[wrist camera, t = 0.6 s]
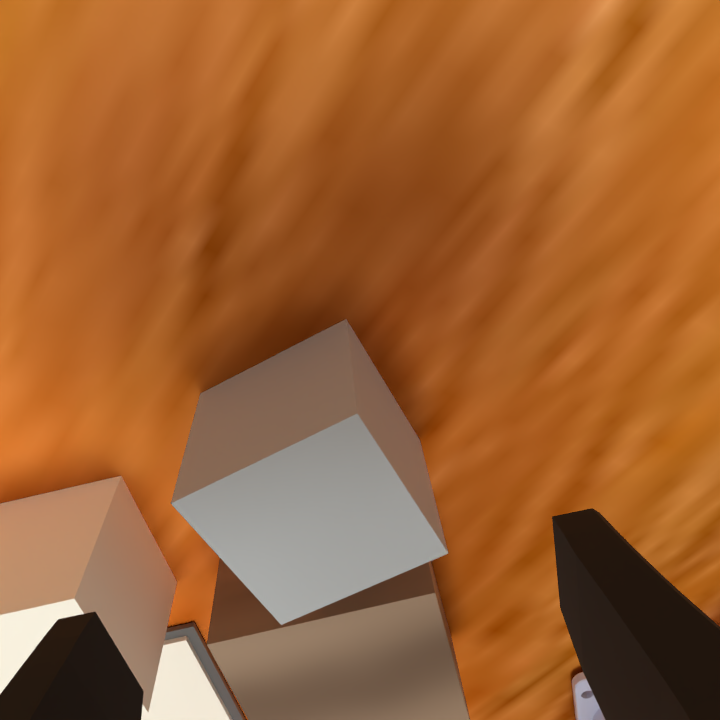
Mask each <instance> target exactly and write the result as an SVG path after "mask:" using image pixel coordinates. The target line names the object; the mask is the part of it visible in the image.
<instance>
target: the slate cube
mask: <svg viewBox="0 0 720 720" xmlns="http://www.w3.org/2000/svg"><path fill="white" fill-rule="evenodd" d="M171 504H172V505H173V506H174V507H175V509H176V510H177V511H178V512H179V513H180V514H181V515H182V516H183V517H184V518H185V520H186V521H187V522H188V523H189V524H190V525H191V526H192V527H193V528H194V529H195V531H196V532H197V533H198V534H199V535H200V536H201V537H202V538H203V539H204V540H205V542H206V543H207V544H208V545H209V546H210V547H211V548H212V549H213V550H214V552H215V553H216V554H217V555H218V556H219V557H220V558H221V559H222V560H223V561H224V563H225V564H226V565H227V566H228V567H229V568H230V569H231V570H232V571H233V572H234V574H235V575H236V576H237V577H238V578H239V579H240V580H241V581H242V582H243V583H244V585H245V586H246V587H247V588H248V589H249V590H250V591H251V592H252V593H253V594H254V596H255V597H256V598H257V599H258V600H259V601H260V602H261V603H262V604H263V605H264V607H265V608H266V609H267V610H268V611H269V612H270V613H271V614H272V615H273V616H274V618H275V619H276V620H277V621H278V622H279V623H280V624H281V625H282V624H285V623H287V622H289V621H292V620H294V619H296V618H299V617H301V616H303V615H306V614H308V613H310V612H313V611H315V610H317V609H320V608H322V607H324V606H327V605H329V604H331V603H334V602H336V601H338V600H341V599H343V598H345V597H348V596H350V595H352V594H355V593H357V592H359V591H362V590H364V589H366V588H369V587H371V586H373V585H376V584H378V583H380V582H383V581H385V580H387V579H390V578H392V577H394V576H397V575H399V574H401V573H404V572H406V571H408V570H411V569H413V568H415V567H418V566H420V565H422V564H425V563H427V562H429V561H432V560H434V559H436V558H439V557H441V556H443V555H446V554H448V550H447V546H446V542H445V538H444V534H443V530H442V526H441V522H440V518H439V514H438V510H437V506H436V502H435V498H434V494H433V490H432V486H431V482H430V478H429V474H428V470H427V466H426V462H425V458H424V454H423V450H422V446H421V442H420V440H419V438H418V436H417V435H416V433H415V431H414V430H413V428H412V426H411V425H410V423H409V421H408V420H407V418H406V416H405V415H404V413H403V412H402V410H401V408H400V407H399V405H398V403H397V402H396V400H395V398H394V397H393V395H392V393H391V392H390V390H389V388H388V387H387V385H386V384H385V382H384V380H383V379H382V377H381V375H380V374H379V372H378V370H377V369H376V367H375V365H374V364H373V362H372V360H371V359H370V357H369V355H368V354H367V352H366V351H365V349H364V347H363V346H362V344H361V342H360V341H359V339H358V337H357V336H356V334H355V332H354V331H353V329H352V327H351V326H350V324H349V323H348V321H347V319H345V320H343V321H341V322H339V323H337V324H335V325H333V326H331V327H329V328H327V329H325V330H323V331H321V332H319V333H317V334H315V335H314V336H312V337H310V338H308V339H306V340H304V341H302V342H300V343H298V344H296V345H294V346H292V347H290V348H288V349H286V350H284V351H282V352H280V353H278V354H276V355H275V356H273V357H271V358H269V359H267V360H265V361H263V362H261V363H259V364H257V365H255V366H253V367H251V368H249V369H247V370H245V371H243V372H241V373H239V374H237V375H235V376H234V377H232V378H230V379H228V380H226V381H224V382H222V383H220V384H218V385H216V386H214V387H212V388H210V389H208V390H206V391H204V392H202V393H200V397H199V400H198V404H197V408H196V412H195V415H194V419H193V423H192V427H191V430H190V434H189V438H188V441H187V445H186V449H185V453H184V456H183V460H182V464H181V467H180V471H179V475H178V479H177V482H176V486H175V490H174V494H173V497H172V501H171Z"/></svg>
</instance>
